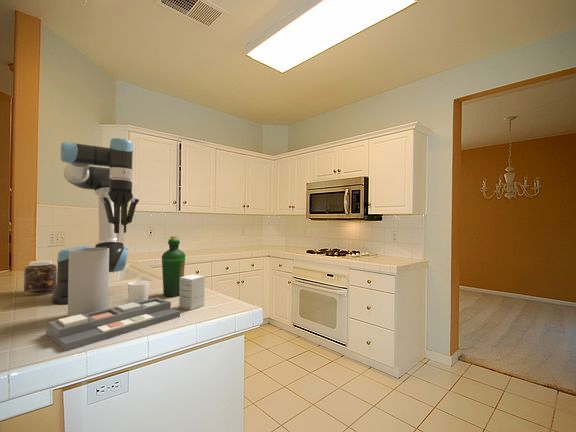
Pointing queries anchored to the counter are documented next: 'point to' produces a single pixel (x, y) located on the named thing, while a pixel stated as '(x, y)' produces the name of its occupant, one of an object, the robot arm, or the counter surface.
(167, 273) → the bottle
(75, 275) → the cylinder vase
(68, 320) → the key white
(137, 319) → the key pad
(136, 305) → the key grey
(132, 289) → the white cup
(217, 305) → the counter surface
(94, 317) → the key terracotta
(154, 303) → the key sage
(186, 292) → the supplement box
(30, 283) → the jar
